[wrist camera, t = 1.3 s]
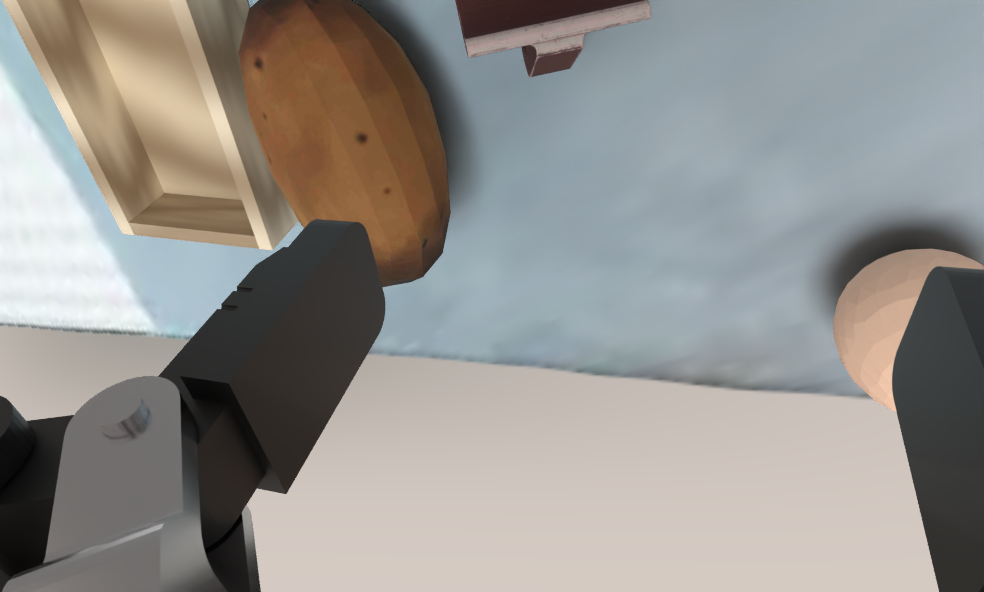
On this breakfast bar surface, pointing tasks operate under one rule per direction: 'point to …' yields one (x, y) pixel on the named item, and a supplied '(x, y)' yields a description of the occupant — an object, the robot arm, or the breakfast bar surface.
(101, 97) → the wooden tray
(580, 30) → the bracket
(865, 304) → the egg
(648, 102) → the breakfast bar surface
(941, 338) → the robot arm
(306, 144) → the potato
